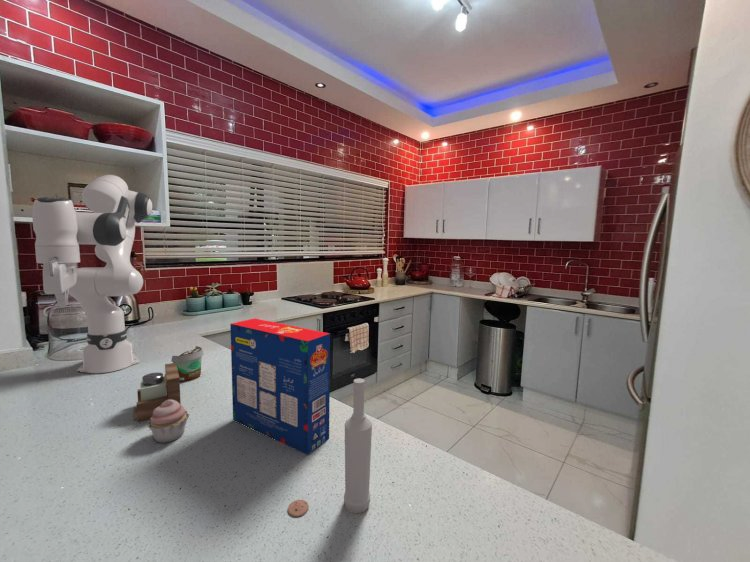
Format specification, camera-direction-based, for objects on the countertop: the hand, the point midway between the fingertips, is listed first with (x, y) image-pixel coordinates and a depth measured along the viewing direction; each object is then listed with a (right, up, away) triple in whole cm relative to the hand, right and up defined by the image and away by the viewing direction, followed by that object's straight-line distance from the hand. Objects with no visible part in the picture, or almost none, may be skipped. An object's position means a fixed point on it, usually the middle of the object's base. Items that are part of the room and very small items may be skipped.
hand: (63, 305), depth 93 cm
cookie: (+73, -37, -30) cm, 87 cm away
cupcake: (+35, -33, -8) cm, 49 cm away
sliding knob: (+23, -31, +5) cm, 39 cm away
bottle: (+84, -37, -29) cm, 96 cm away
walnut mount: (+23, -31, +5) cm, 39 cm away
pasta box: (+62, -33, -4) cm, 71 cm away
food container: (+21, -29, +28) cm, 45 cm away
